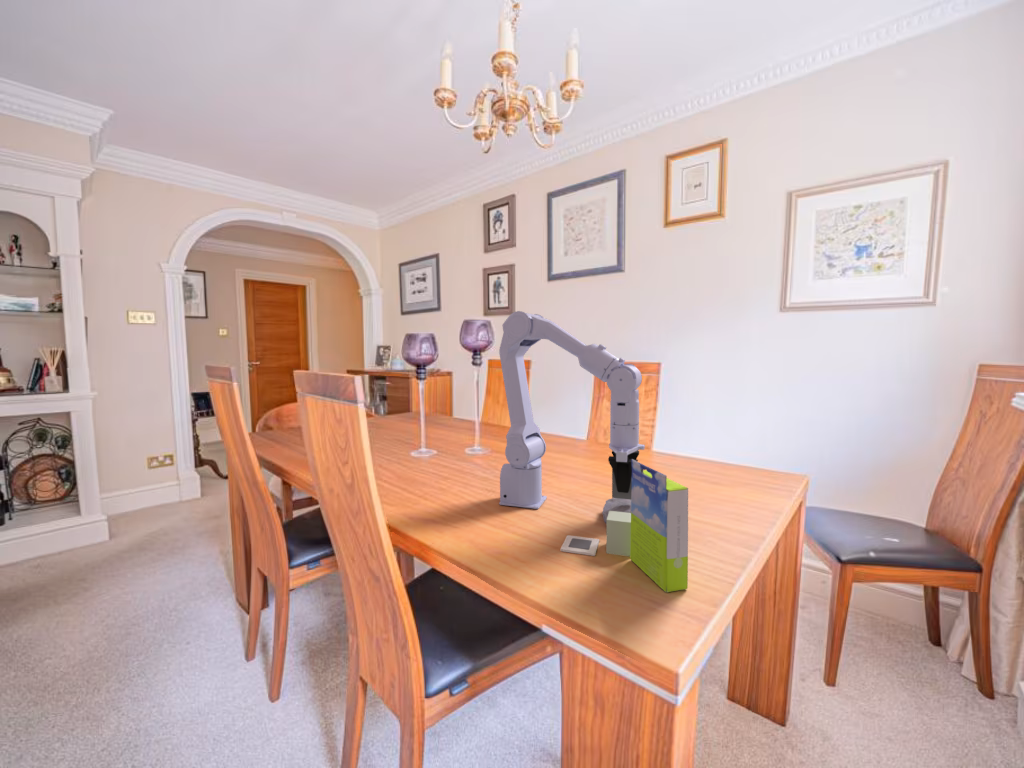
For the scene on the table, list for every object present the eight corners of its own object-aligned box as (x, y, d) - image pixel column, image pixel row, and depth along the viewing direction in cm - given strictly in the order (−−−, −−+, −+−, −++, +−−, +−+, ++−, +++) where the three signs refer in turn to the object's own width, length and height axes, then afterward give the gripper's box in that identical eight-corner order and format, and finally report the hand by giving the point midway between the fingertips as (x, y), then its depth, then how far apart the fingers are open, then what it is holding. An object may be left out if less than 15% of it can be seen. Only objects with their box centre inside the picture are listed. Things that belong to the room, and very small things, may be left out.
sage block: (606, 553, 73) (606, 519, 73) (609, 542, 78) (609, 510, 77) (633, 557, 72) (633, 522, 72) (634, 545, 76) (634, 513, 76)
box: (689, 590, 62) (691, 473, 60) (664, 594, 61) (665, 476, 60) (649, 557, 72) (651, 456, 71) (627, 559, 71) (628, 458, 70)
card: (560, 551, 74) (560, 548, 74) (567, 537, 80) (567, 534, 80) (594, 556, 72) (594, 553, 72) (599, 541, 78) (599, 538, 78)
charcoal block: (612, 497, 86) (612, 468, 86) (614, 491, 91) (614, 463, 90) (634, 499, 85) (635, 470, 85) (635, 492, 89) (636, 465, 89)
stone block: (606, 539, 83) (658, 533, 81) (601, 515, 83) (653, 508, 81) (605, 518, 95) (650, 512, 93) (601, 497, 95) (646, 491, 93)
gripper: (643, 430, 79) (643, 501, 80) (645, 418, 92) (645, 479, 93) (605, 428, 81) (605, 497, 82) (612, 417, 95) (612, 477, 96)
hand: (624, 488), depth 88 cm, fingers closed on charcoal block, 4 cm apart
